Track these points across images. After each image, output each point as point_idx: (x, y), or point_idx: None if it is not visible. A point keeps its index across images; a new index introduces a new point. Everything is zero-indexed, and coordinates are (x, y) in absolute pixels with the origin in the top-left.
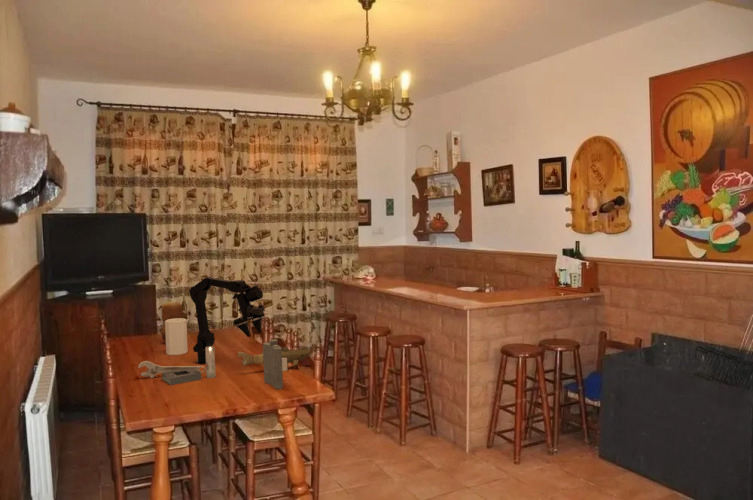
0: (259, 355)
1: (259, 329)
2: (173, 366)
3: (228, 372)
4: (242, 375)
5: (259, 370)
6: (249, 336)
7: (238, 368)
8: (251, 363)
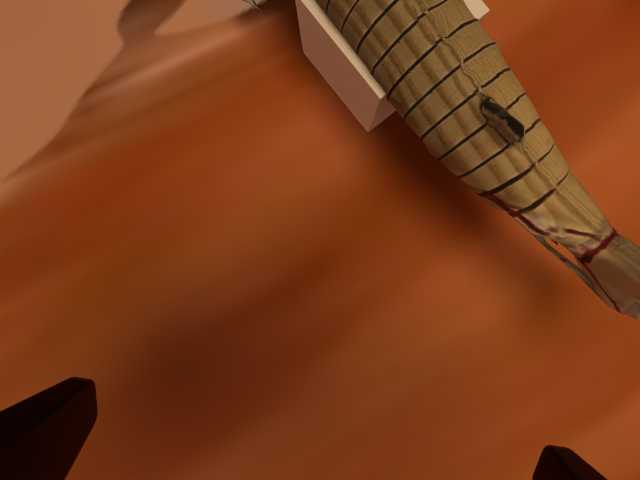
0: (559, 160)
1: (22, 454)
2: None
3: (526, 449)
4: None
5: (421, 221)
6: (567, 456)
7: (391, 428)
8: (552, 249)
